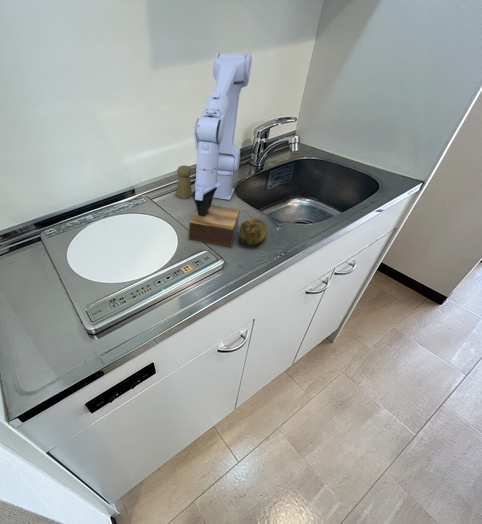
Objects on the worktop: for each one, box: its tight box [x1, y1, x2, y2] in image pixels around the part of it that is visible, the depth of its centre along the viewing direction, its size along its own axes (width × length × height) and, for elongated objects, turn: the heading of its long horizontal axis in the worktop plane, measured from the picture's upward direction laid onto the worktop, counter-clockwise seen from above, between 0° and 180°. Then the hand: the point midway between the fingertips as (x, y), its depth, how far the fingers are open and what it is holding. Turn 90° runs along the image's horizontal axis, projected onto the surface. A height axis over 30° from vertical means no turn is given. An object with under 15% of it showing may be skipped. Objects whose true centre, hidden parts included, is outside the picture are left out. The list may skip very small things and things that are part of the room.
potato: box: [239, 218, 268, 246], centre depth 81 cm, size 8×13×8 cm, turn 132°
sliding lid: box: [190, 205, 240, 228], centre depth 81 cm, size 9×13×5 cm
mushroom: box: [175, 165, 193, 200], centre depth 104 cm, size 6×6×11 cm
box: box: [188, 204, 241, 248], centre depth 85 cm, size 11×13×6 cm
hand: (204, 211), depth 83 cm, fingers open, 4 cm apart
